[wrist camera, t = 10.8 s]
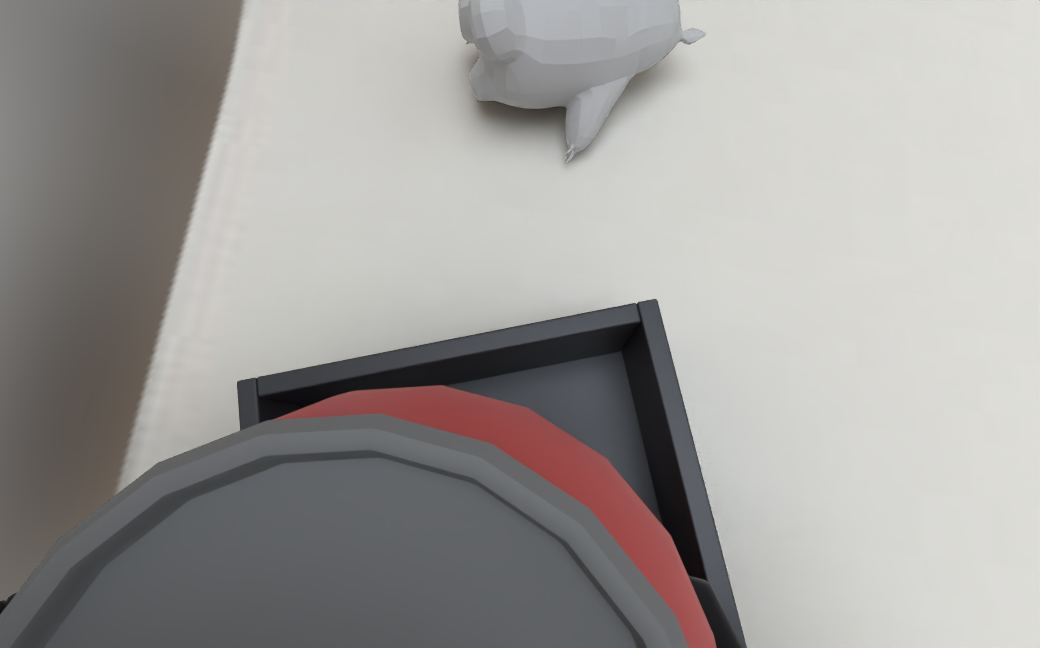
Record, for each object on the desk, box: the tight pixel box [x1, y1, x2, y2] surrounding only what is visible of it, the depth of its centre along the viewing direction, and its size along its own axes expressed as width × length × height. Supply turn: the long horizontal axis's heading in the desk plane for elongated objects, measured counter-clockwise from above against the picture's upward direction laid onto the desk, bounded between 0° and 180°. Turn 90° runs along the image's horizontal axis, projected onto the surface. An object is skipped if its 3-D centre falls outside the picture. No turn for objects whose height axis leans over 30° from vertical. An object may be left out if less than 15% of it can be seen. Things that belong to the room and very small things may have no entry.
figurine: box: [459, 0, 706, 163], centre depth 17 cm, size 8×6×8 cm
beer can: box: [0, 385, 717, 648], centre depth 9 cm, size 7×7×12 cm
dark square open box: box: [237, 299, 747, 648], centre depth 15 cm, size 10×10×4 cm
